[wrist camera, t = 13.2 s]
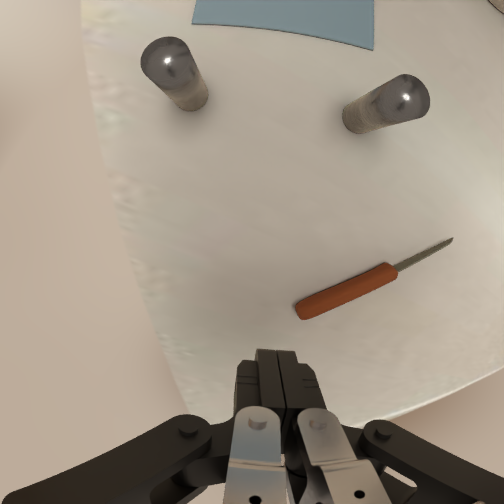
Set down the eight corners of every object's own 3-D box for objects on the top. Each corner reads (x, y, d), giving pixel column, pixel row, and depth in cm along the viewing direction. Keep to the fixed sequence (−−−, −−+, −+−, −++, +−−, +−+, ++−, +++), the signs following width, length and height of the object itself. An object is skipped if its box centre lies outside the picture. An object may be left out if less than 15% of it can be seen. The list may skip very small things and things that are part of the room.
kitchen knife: (298, 314, 27) (301, 325, 25) (292, 301, 27) (295, 311, 25) (449, 242, 26) (460, 247, 24) (446, 229, 26) (458, 233, 24)
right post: (373, 106, 23) (430, 82, 14) (370, 136, 23) (428, 124, 15) (343, 99, 23) (391, 68, 14) (340, 130, 23) (389, 112, 15)
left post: (210, 81, 22) (193, 36, 13) (206, 112, 23) (185, 81, 14) (177, 79, 22) (145, 37, 13) (173, 110, 23) (136, 81, 14)
